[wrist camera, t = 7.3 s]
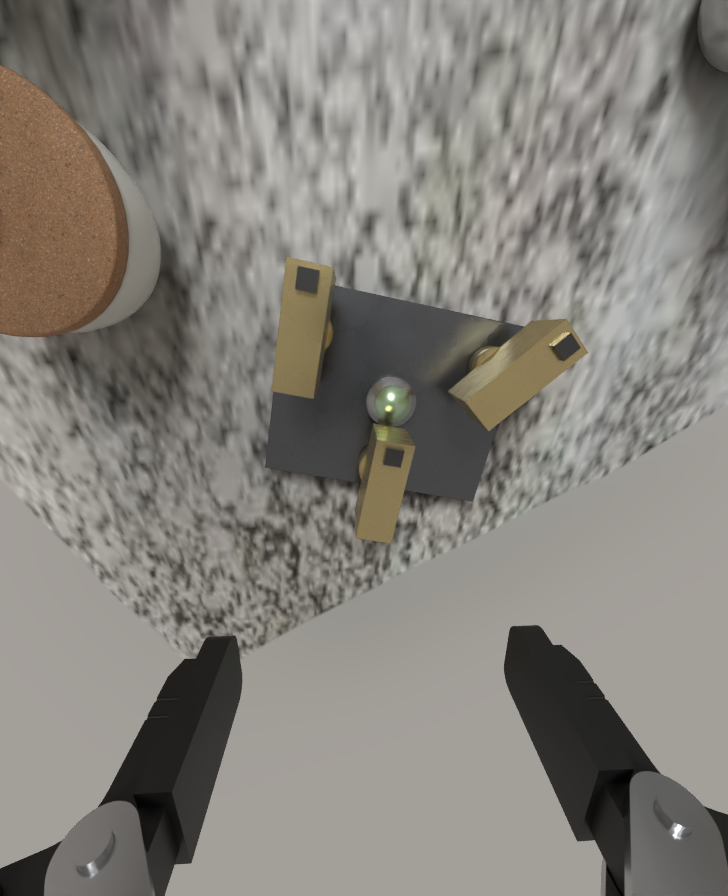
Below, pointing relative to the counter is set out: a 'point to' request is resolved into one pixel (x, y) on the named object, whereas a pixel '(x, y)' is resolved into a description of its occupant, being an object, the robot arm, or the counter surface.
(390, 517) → the bar with square hole
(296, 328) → the knob
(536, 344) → the knob
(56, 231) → the lidded jar
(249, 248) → the counter surface
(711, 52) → the plastic bottle
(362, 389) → the levelling plate
